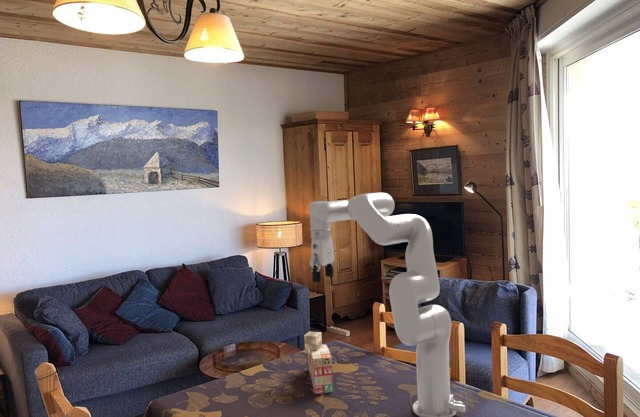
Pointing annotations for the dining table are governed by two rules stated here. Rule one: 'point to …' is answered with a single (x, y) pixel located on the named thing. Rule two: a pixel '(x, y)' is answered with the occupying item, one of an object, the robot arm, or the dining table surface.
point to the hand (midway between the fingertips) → (323, 279)
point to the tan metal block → (313, 341)
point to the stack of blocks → (320, 370)
